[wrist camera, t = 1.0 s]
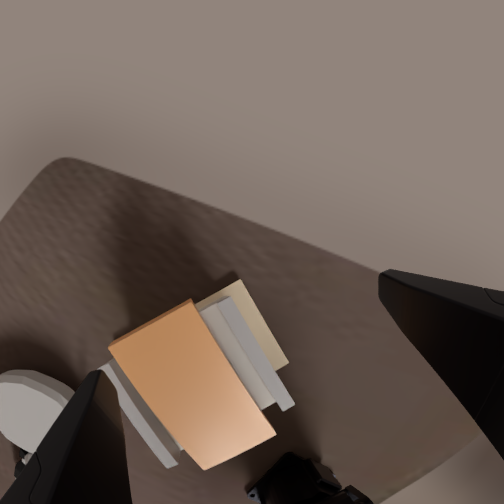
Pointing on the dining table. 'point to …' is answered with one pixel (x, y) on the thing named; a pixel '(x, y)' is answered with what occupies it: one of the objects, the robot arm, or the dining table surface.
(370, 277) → the dining table surface
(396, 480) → the dining table surface
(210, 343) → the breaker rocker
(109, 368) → the box
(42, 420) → the robot toy
